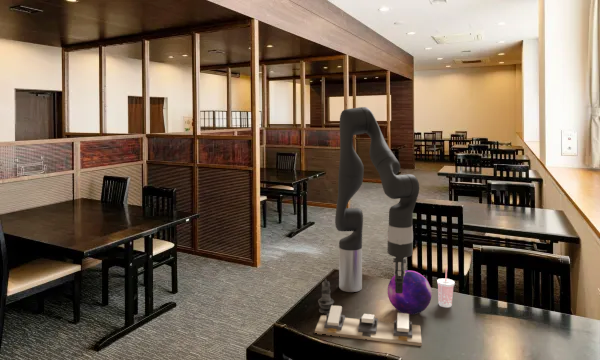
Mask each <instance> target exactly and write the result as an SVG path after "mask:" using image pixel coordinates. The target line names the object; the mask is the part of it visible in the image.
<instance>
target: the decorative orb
mask: <svg viewBox="0 0 600 360" xmlns="http://www.w3.org/2000/svg"><path fill="white" fill-rule="evenodd" d="M403 278H404V279H403V280H404V282H403V292H402V293H396V292H395V283H396V282H395V275H394V274H393V276H392V277H391V278H390V280H389V282H388V286H387V297H388V299H389V302H390V304H391V305H392V306H393V308H395V309H396V310H397V311H398V312H399V313H406V314H409V315H417V314H420V313H422V312H423V311H425V310H426V309H427V308H428V307H429V305H430V303H431V299H432V295H433V294H432V293H433V292H432V287H431V285H430V283H429V281H428V279H427V278H426V277H425V276H424V275H422V274H421V273H420V272H418V271H415V270H406V269H405V276H404V277H403Z"/></svg>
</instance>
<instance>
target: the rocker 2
mask: <svg viewBox="0 0 600 360" xmlns="http://www.w3.org/2000/svg"><path fill="white" fill-rule="evenodd" d="M375 316H376V315H375V314H370V313H363V315H361V317H362V322H366V323H373V322H374V319H375V318H376V317H375Z"/></svg>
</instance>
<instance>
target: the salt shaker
mask: <svg viewBox="0 0 600 360" xmlns="http://www.w3.org/2000/svg"><path fill="white" fill-rule="evenodd" d="M330 288H331V284H330V281H328V280H327V278H325V279H324V280H323V281H322V282H321V290H320V292H321V297H320V298H319V299H318V300H317V302H318V305H319V308H318V311H319V313H321V314H323V313H324V314H325V315H327V313H330V309H331V305H334V303H335V300H334V299H333V298H331V291H332V290H331V289H330ZM324 314H323V315H324Z"/></svg>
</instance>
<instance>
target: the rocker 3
mask: <svg viewBox="0 0 600 360" xmlns="http://www.w3.org/2000/svg"><path fill="white" fill-rule="evenodd" d="M396 320H397V331H402V332H409V322H410V314H406V313H402V312H397V318H396Z"/></svg>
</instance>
